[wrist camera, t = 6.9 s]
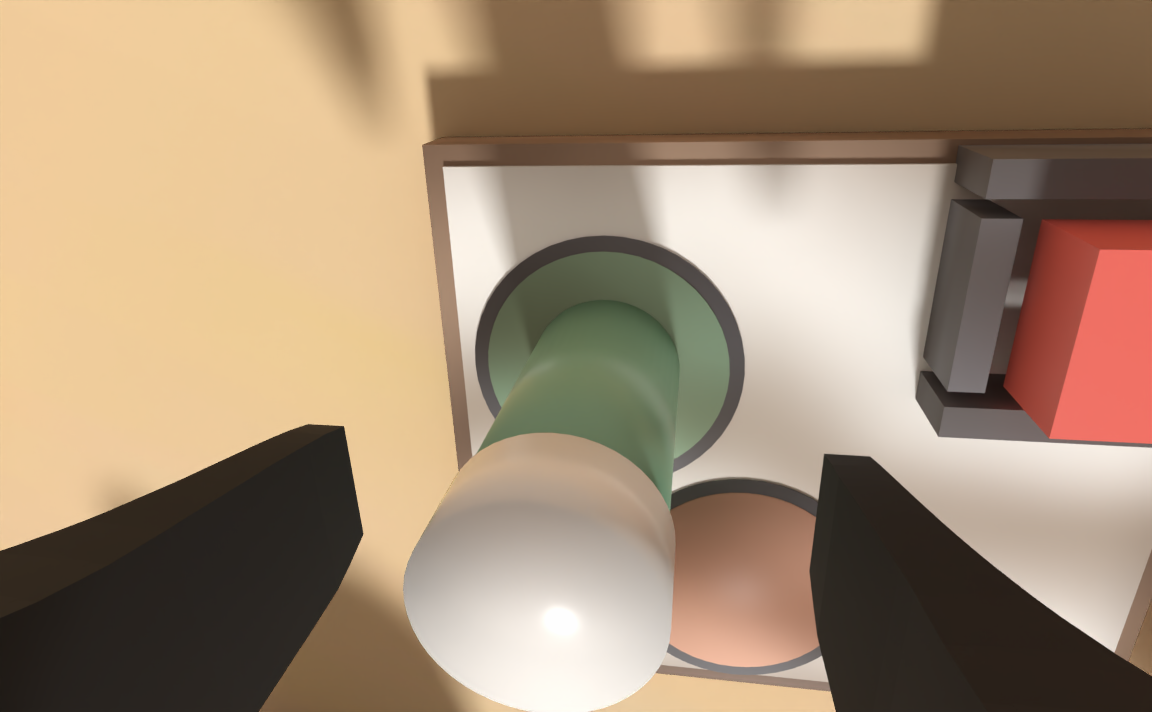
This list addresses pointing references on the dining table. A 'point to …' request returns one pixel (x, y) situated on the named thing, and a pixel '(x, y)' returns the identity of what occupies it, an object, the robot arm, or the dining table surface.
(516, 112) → the dining table surface
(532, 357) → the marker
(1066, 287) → the button
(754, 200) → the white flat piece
